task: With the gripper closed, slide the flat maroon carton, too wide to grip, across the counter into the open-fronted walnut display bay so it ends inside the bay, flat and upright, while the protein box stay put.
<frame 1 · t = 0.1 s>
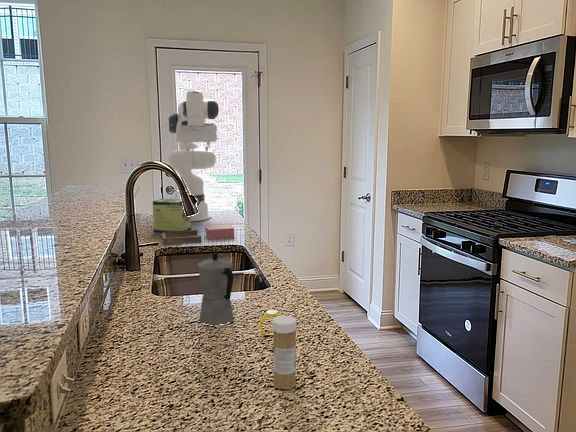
hand: (197, 151, 238), 39 cm above the countertop, tool pointing down, fingers open, 8 cm apart
sprinkles bottle: (284, 386, 92), on the countertop
coffeepot: (218, 322, 122), on the countertop
protein box: (172, 231, 234), on the countertop
display bay: (182, 239, 216), on the countertop
watch: (272, 335, 114), on the countertop
carton: (219, 237, 221), on the countertop
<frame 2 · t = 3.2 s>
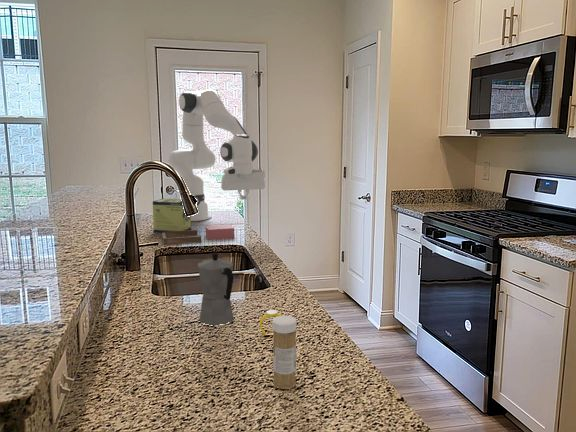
hand: (243, 199, 222), 17 cm above the countertop, tool pointing down, fingers closed
nothing on the countertop moved.
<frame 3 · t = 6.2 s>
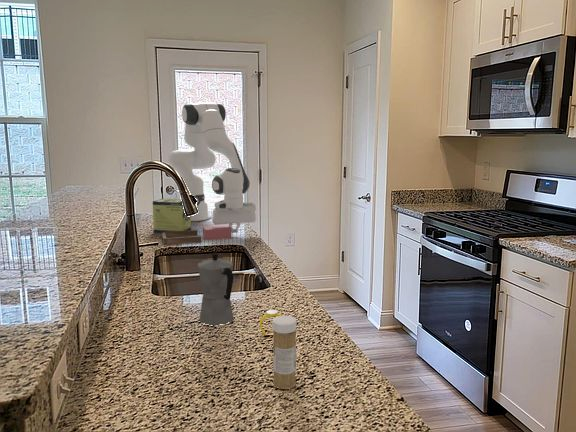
hand: (234, 232, 223), 2 cm above the countertop, tool pointing down, fingers closed
carton: (217, 237, 221), on the countertop, touching gripper
everything else where it was.
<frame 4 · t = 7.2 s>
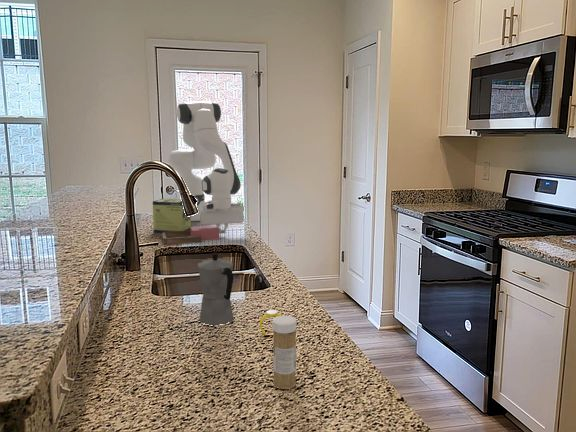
hand: (222, 233, 221), 2 cm above the countertop, tool pointing down, fingers closed
carton: (204, 238, 219), on the countertop
everything else where it was.
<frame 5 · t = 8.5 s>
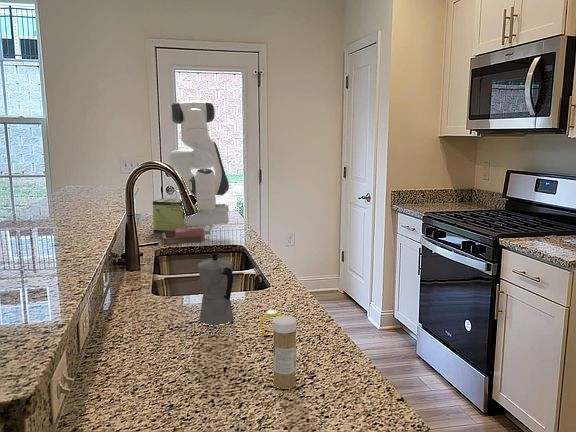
hand: (207, 234, 219), 2 cm above the countertop, tool pointing down, fingers closed
carton: (189, 240, 217), on the countertop, touching gripper
everything else where it was.
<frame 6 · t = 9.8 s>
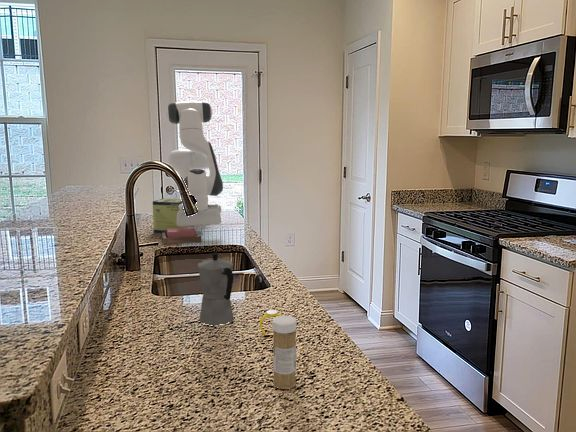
hand: (199, 234, 218), 2 cm above the countertop, tool pointing down, fingers closed
carton: (181, 240, 216), on the countertop
everything else where it was.
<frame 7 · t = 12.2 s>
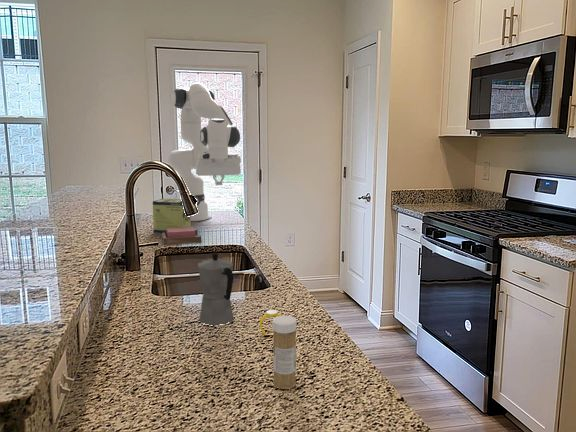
hand: (218, 185, 218), 24 cm above the countertop, tool pointing down, fingers closed
nothing on the countertop moved.
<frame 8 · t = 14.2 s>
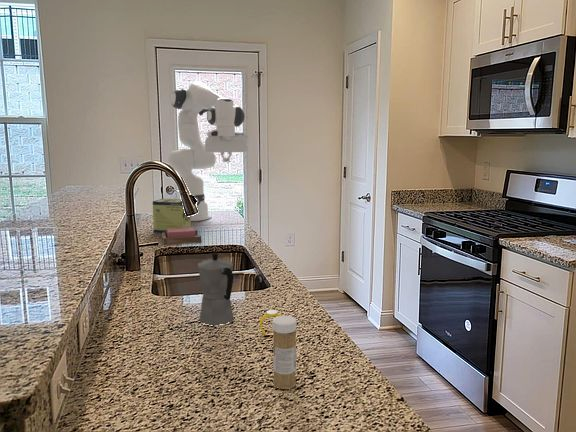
hand: (226, 161, 228), 34 cm above the countertop, tool pointing down, fingers closed
nothing on the countertop moved.
at the end: carton 0.2 cm off-centre on the display bay, point 0.0 cm above the display bay's base; carton tilted 0°; protein box moved 0.3 cm from its start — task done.
